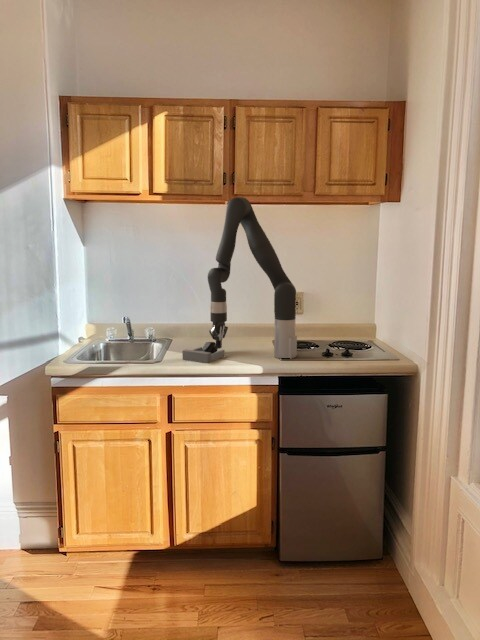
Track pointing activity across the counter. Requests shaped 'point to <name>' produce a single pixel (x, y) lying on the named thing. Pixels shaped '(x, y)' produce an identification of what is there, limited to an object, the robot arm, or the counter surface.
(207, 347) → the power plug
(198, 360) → the socket bay
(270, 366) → the counter surface
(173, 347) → the counter surface
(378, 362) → the counter surface
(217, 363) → the counter surface
